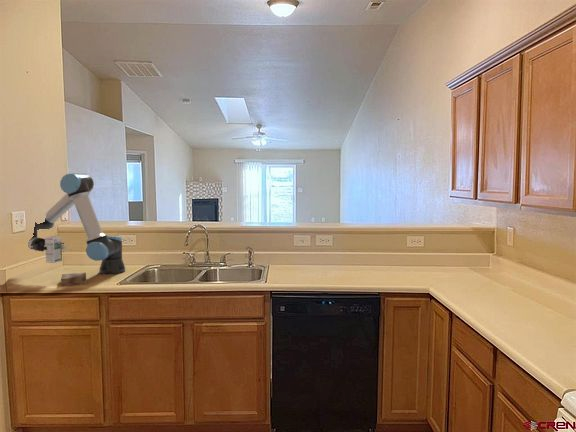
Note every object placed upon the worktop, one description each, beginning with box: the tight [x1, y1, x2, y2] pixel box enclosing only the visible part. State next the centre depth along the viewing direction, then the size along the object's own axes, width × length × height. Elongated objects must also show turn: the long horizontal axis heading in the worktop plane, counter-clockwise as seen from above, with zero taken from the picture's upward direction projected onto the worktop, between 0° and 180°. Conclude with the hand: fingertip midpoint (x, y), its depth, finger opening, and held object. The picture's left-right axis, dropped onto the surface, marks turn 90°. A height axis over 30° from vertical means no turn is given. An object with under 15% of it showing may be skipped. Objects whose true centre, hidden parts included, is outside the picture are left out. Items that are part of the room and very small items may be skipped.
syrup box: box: [44, 235, 63, 264], centre depth 219 cm, size 6×6×14 cm
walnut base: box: [60, 272, 87, 287], centre depth 219 cm, size 12×12×4 cm
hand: (58, 247), depth 216 cm, fingers closed on syrup box, 7 cm apart
